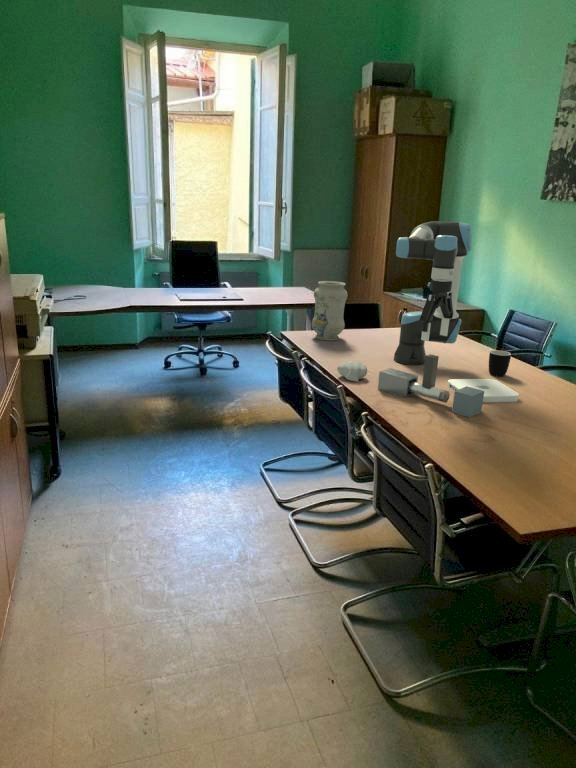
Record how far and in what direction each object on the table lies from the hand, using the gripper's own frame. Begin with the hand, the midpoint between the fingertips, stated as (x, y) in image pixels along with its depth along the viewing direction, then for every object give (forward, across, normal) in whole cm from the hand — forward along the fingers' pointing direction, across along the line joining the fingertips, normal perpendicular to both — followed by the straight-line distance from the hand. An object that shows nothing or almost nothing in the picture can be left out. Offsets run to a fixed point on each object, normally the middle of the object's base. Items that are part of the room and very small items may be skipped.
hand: (434, 337), depth 212 cm
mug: (+24, +57, -2) cm, 62 cm away
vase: (+24, +48, +89) cm, 104 cm away
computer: (+25, +26, -10) cm, 38 cm away
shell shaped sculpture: (+25, +1, +37) cm, 44 cm away
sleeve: (+24, 0, +14) cm, 28 cm away
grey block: (+24, 0, -16) cm, 29 cm away
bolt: (+23, 0, +5) cm, 24 cm away
